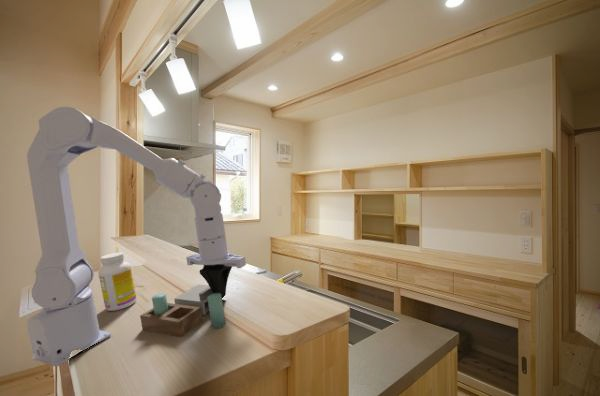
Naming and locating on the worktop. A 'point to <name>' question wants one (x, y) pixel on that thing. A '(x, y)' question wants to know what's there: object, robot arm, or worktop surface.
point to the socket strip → (172, 320)
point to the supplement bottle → (116, 282)
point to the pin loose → (216, 310)
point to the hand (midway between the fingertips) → (220, 297)
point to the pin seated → (160, 304)
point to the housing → (195, 297)
